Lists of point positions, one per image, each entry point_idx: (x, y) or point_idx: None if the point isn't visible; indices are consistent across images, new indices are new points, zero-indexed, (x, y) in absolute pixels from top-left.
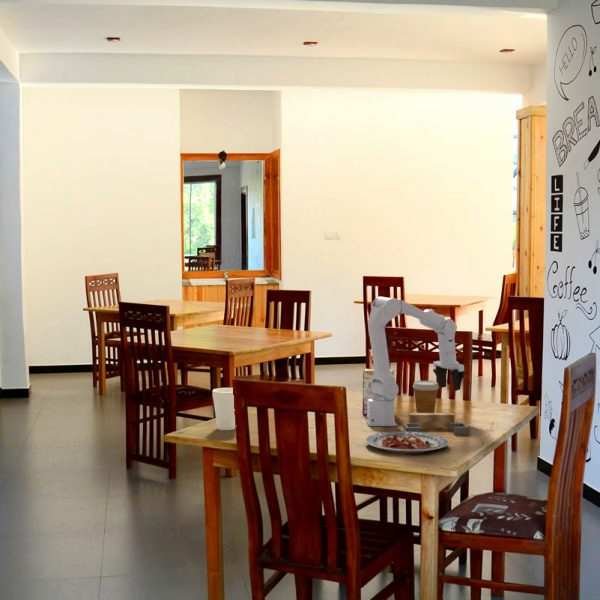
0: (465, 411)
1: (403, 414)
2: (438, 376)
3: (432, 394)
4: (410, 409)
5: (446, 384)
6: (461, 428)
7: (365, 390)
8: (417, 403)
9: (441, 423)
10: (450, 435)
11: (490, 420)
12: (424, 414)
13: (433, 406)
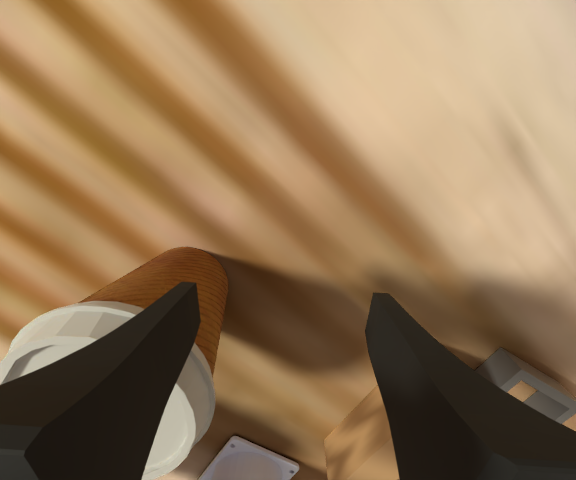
0: (199, 26)
1: None
2: (148, 439)
3: (214, 364)
4: (39, 249)
5: (187, 289)
6: (557, 421)
7: None
8: None
9: None
10: None
11: (467, 100)
12: (390, 474)
13: (221, 300)
